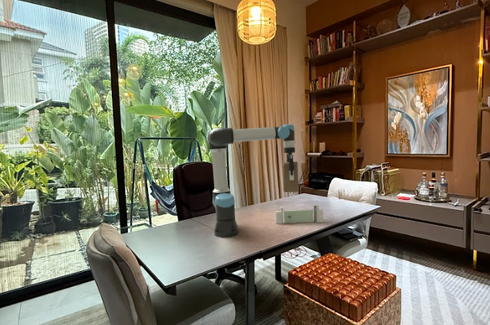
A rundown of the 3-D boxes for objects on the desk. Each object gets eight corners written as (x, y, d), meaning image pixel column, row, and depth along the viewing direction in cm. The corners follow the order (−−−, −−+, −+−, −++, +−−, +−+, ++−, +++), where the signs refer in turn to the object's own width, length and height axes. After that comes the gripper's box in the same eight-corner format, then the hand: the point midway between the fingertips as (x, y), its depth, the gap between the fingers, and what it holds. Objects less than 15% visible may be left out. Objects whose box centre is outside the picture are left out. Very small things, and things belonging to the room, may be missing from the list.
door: (312, 221, 177) (312, 209, 176) (313, 222, 174) (313, 210, 173) (284, 222, 177) (283, 210, 176) (284, 223, 174) (284, 211, 174)
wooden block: (298, 192, 178) (297, 162, 176) (283, 192, 180) (282, 163, 179) (298, 189, 188) (297, 161, 186) (284, 189, 190) (283, 161, 188)
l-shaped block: (276, 223, 176) (275, 207, 175) (276, 223, 178) (275, 206, 177) (323, 222, 175) (322, 205, 174) (322, 221, 177) (321, 205, 176)
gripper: (297, 147, 170) (298, 181, 172) (292, 146, 193) (293, 176, 195) (286, 147, 170) (287, 181, 172) (282, 147, 193) (283, 176, 195)
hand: (290, 178), depth 183 cm, fingers closed on wooden block, 11 cm apart
